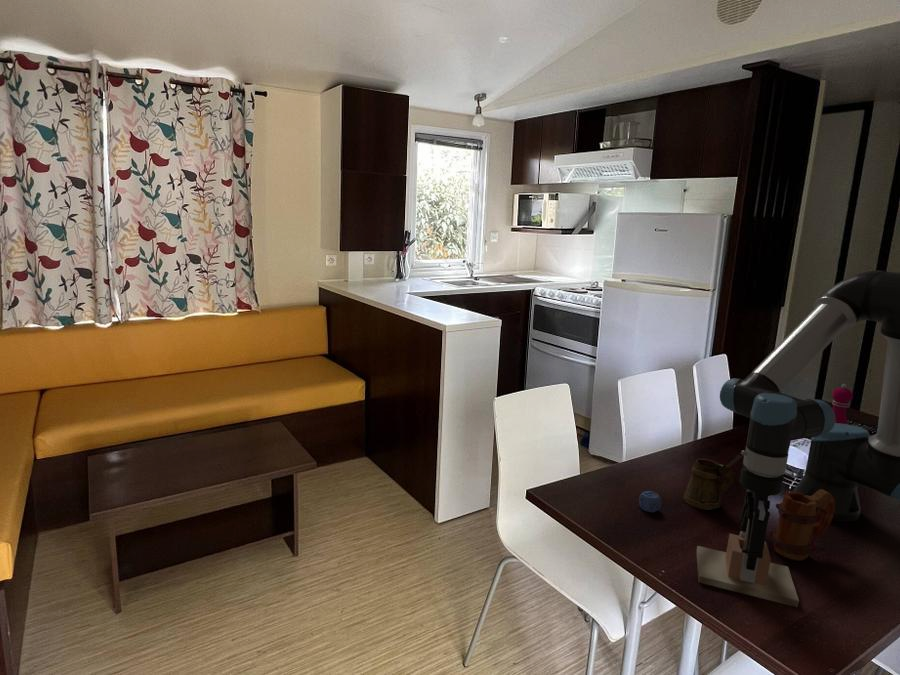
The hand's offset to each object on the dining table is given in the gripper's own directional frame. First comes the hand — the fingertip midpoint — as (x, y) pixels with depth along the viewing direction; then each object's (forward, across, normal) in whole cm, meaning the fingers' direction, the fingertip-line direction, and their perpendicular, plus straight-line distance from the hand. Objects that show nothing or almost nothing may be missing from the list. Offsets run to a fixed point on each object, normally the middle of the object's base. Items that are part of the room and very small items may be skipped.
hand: (744, 570), depth 119 cm
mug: (+2, -16, +13) cm, 21 cm away
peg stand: (+2, 0, 0) cm, 2 cm away
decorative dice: (+2, -22, -20) cm, 30 cm away
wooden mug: (+2, -31, -5) cm, 31 cm away
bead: (0, 0, 0) cm, 0 cm away
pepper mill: (+2, -107, +40) cm, 114 cm away
